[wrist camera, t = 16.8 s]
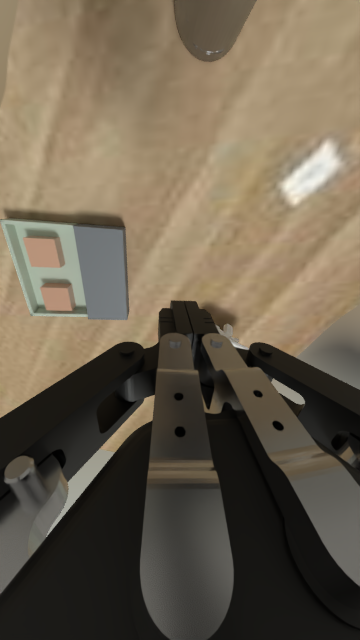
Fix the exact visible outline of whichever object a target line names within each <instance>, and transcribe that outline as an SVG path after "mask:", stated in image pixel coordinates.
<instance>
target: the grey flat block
mask: <svg viewBox="0 0 360 640" xmlns="http://www.w3.org/2000/svg"><path fill="white" fill-rule="evenodd" d="M73 228H74V234H75V240H76V247H77V253H78V259H79V265H80V271H81V277H82V283H83V289H84V295H85V302H86V308H87V314H88V319H104V320H127V319H128V314H129V298H128V276H127V254H126V232H125V227H115V226H103V225H90V224H78V225H75V226H73Z"/></svg>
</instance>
